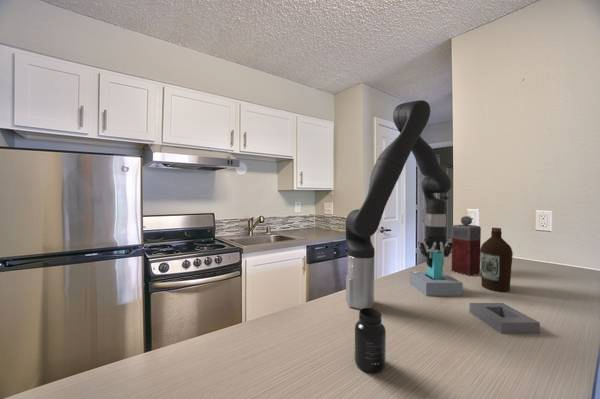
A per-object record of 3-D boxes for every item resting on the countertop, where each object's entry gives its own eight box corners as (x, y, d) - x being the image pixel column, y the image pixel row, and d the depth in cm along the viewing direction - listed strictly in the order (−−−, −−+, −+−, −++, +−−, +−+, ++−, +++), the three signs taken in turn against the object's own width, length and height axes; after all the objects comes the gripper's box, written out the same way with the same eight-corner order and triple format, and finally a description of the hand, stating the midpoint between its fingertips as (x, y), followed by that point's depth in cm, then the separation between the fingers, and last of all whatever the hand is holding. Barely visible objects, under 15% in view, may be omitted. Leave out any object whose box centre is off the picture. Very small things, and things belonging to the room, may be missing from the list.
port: (426, 295, 98) (426, 281, 98) (409, 283, 112) (410, 270, 112) (462, 295, 98) (462, 281, 98) (441, 283, 112) (441, 270, 112)
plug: (433, 278, 103) (434, 253, 102) (427, 274, 108) (427, 250, 107) (442, 278, 103) (442, 253, 102) (435, 274, 108) (435, 250, 107)
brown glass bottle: (489, 282, 114) (490, 226, 113) (517, 290, 104) (519, 229, 103) (473, 285, 110) (475, 227, 109) (501, 294, 100) (502, 230, 99)
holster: (500, 333, 72) (501, 322, 72) (469, 311, 85) (469, 302, 85) (539, 333, 72) (539, 322, 72) (502, 311, 85) (502, 302, 85)
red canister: (482, 272, 127) (484, 216, 127) (469, 276, 122) (470, 217, 122) (464, 268, 135) (465, 215, 135) (451, 271, 130) (452, 215, 130)
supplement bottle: (350, 355, 62) (351, 305, 61) (378, 353, 62) (378, 304, 62) (359, 375, 55) (360, 319, 55) (390, 373, 55) (391, 318, 55)
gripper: (422, 226, 101) (422, 269, 101) (458, 225, 101) (457, 269, 101) (414, 223, 108) (413, 264, 109) (447, 223, 109) (446, 264, 109)
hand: (435, 266), depth 105 cm, fingers closed on plug, 3 cm apart
